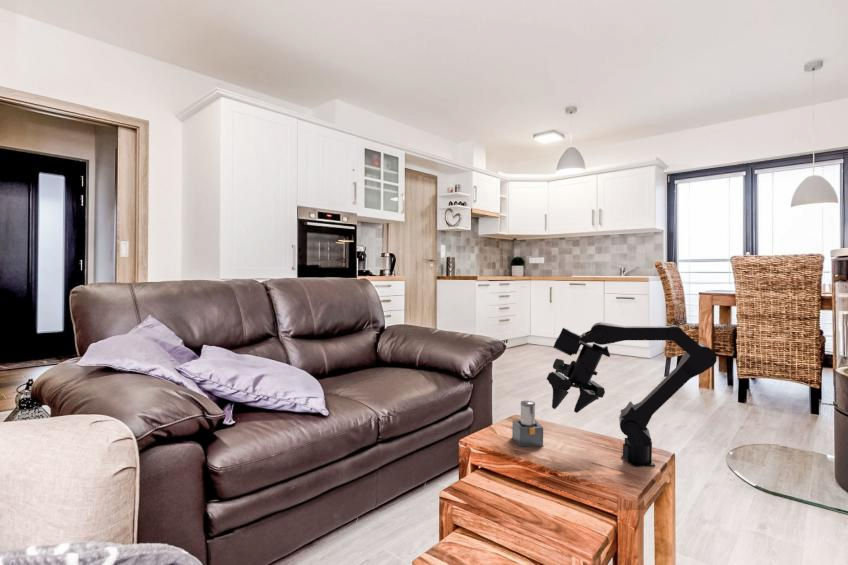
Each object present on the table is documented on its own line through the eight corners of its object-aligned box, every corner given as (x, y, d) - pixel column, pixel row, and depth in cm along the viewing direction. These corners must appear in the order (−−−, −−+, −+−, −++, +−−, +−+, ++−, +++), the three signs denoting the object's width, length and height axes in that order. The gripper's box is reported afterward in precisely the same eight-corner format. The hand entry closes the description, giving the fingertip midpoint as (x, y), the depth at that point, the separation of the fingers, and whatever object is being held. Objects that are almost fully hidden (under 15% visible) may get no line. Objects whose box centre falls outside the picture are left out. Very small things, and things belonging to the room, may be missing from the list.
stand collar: (535, 439, 138) (535, 419, 138) (544, 450, 130) (544, 428, 130) (511, 440, 137) (511, 419, 137) (519, 451, 129) (520, 429, 129)
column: (531, 438, 136) (532, 400, 136) (536, 444, 132) (537, 404, 131) (518, 439, 136) (518, 400, 135) (522, 444, 131) (523, 404, 131)
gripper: (588, 356, 138) (568, 399, 141) (545, 345, 130) (525, 391, 132) (615, 373, 129) (593, 419, 131) (571, 362, 120) (548, 412, 123)
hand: (564, 410), depth 130 cm, fingers open, 9 cm apart
